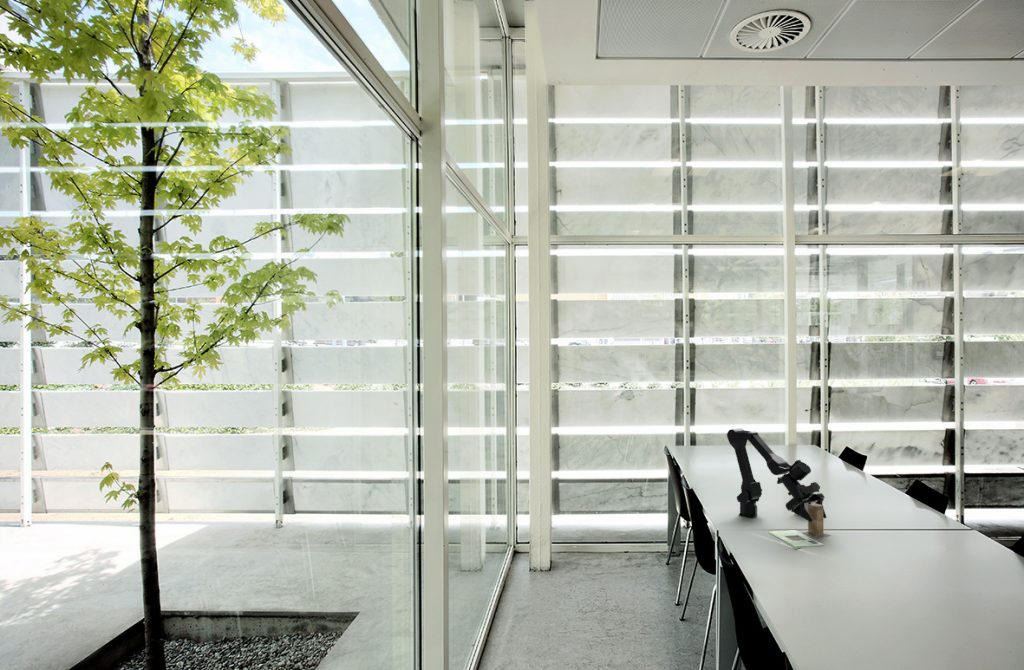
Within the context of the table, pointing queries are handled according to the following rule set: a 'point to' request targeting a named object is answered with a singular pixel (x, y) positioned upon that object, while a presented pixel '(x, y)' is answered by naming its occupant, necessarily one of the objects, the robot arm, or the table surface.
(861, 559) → the table surface
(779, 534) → the flange plate
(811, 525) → the post
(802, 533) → the pad
